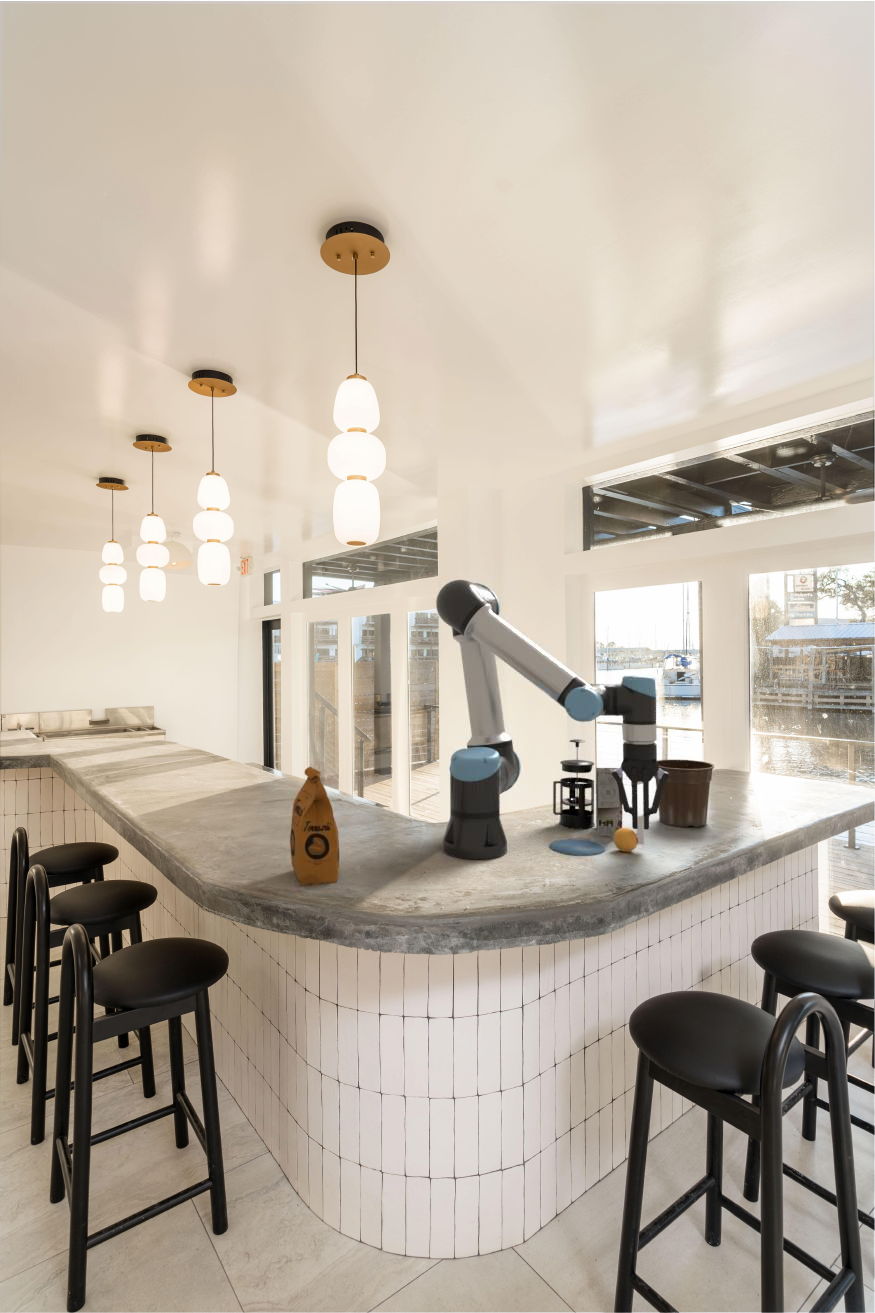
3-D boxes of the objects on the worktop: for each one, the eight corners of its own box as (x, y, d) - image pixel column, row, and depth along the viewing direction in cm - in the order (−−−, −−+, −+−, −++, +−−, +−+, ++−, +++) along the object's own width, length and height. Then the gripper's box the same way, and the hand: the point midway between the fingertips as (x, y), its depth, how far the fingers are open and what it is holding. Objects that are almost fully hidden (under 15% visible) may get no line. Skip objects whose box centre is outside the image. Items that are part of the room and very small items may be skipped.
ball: (630, 859, 153) (608, 847, 155) (631, 852, 159) (609, 840, 160) (642, 839, 152) (620, 826, 154) (641, 832, 158) (620, 820, 159)
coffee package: (291, 888, 131) (291, 777, 131) (289, 868, 143) (289, 766, 143) (342, 884, 134) (342, 775, 134) (335, 865, 146) (335, 764, 146)
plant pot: (642, 824, 181) (643, 764, 181) (660, 812, 194) (660, 757, 194) (705, 833, 172) (706, 771, 172) (719, 820, 185) (720, 762, 185)
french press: (590, 819, 185) (591, 737, 185) (602, 829, 176) (602, 741, 176) (549, 820, 184) (549, 737, 184) (558, 829, 175) (558, 742, 175)
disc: (546, 852, 155) (546, 852, 155) (552, 837, 167) (552, 837, 167) (604, 857, 151) (604, 856, 151) (605, 842, 164) (605, 841, 164)
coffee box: (623, 837, 168) (623, 773, 168) (596, 836, 169) (597, 772, 169) (620, 828, 177) (620, 767, 176) (595, 827, 178) (595, 766, 178)
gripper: (668, 740, 157) (669, 840, 157) (611, 739, 161) (612, 836, 161) (670, 744, 150) (671, 849, 150) (610, 743, 153) (611, 845, 153)
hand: (640, 842), depth 155 cm, fingers closed
